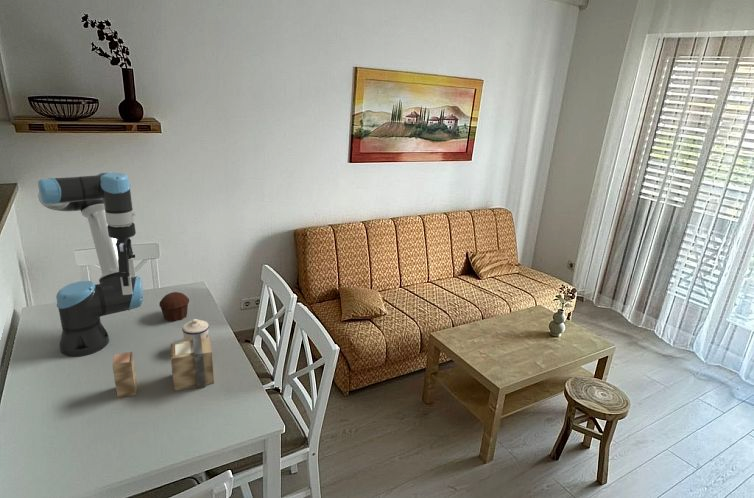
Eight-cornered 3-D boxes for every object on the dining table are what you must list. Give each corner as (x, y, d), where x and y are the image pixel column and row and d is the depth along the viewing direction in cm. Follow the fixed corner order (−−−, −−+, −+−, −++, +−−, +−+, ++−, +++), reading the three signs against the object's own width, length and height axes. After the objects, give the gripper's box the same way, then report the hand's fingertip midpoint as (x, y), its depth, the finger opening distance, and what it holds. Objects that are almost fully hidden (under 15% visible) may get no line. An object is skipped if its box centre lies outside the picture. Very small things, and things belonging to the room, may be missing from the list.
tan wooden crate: (174, 393, 144) (170, 358, 139) (174, 371, 154) (170, 338, 149) (214, 385, 148) (212, 351, 144) (211, 365, 159) (209, 332, 154)
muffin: (183, 324, 183) (180, 302, 179) (155, 322, 183) (153, 300, 179) (194, 310, 194) (193, 289, 191) (169, 308, 194) (166, 287, 191)
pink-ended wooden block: (117, 398, 140) (112, 364, 136) (119, 386, 145) (114, 354, 141) (135, 394, 142) (131, 361, 138) (137, 383, 147) (132, 351, 143)
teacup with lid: (211, 352, 166) (209, 324, 162) (184, 356, 163) (181, 327, 159) (209, 335, 176) (207, 308, 172) (184, 338, 173) (181, 311, 169)
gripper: (131, 235, 133) (140, 300, 140) (136, 212, 154) (143, 269, 161) (102, 237, 130) (112, 303, 137) (111, 213, 151) (119, 271, 158)
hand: (129, 285), depth 149 cm, fingers open, 13 cm apart
